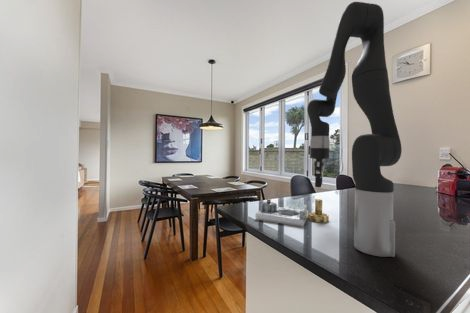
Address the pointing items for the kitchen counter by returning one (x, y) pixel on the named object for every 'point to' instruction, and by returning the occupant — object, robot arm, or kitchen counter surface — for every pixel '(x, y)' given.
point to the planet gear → (318, 213)
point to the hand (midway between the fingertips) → (318, 185)
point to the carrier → (282, 214)
